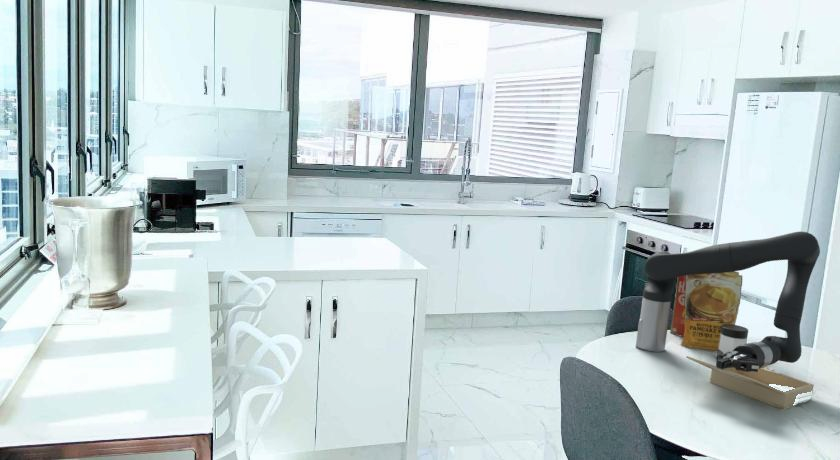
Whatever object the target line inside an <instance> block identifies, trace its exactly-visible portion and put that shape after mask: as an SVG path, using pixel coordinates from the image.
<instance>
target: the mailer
mask: <svg viewBox="0 0 840 460" xmlns="http://www.w3.org/2000/svg"><path fill="white" fill-rule="evenodd" d="M725 369H726V370H729V371H732V372H735V373H738V374H740V375H743V376H746V377H749V378H752V379H755V380H758V381H760V382H762V383H765V384H767V385H769V384H776V385H781V386H788V387H793V388H795V389H792V390H789V391H786V392H784V394H781V393H778V392H775V391H772V390H770V389H767V388H764V387H761V386H758V385H755V384H752V383H749V382H747V381H744V380H741V379H738V378H735V377H732V376H729V375H727V374H724V373H721V372H718V371H715V370H712V369H711V371H710V379H709V383H711V384H713V385H716V386H719V387H721V388H724V389H727V390H729V391H732V392H736V393H738V394H740V395H743V396H746V397H749V398H751V399H754V400H756V401H760V402H763V403H765V404H767V405H768V404H769V405H771V406H772V407H773V406H774V407H776V408H778V409H781V410H786V409H790V408H792V407H794V406H793V404H794V402H795V399H796V396H797V395H798V394H802V393H807V392H811V391H812V393H813V391H814V386H815V385H814V384H812V383H810V382H807V381H803V380H802V379H797V378H794V377H793V376H792V377H791V376H789V375H785V374H782V373H780V372H776V371H773V370H770V369H767V368H765V367H764V368H761V369H758V372H754V371H750V372H745V371H742V370H736V369H735V368H731V369H730V368H725ZM782 392H783V391H782Z"/></svg>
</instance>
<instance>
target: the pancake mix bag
mask: <svg viewBox="0 0 840 460" xmlns="http://www.w3.org/2000/svg"><path fill="white" fill-rule="evenodd" d="M742 286H743V275H742V274H740V272H739V271H734V272H726V273H713V274H692V275H686V292H685V307H686V312H685V322H684V323H685V331H684V337H683V336H682V340H681V343H680V346H684V347H687V348H688V349H689V348H691V349H695V350H702V351H709V352H715V353H716V350H718V345H719V338H720V332H721V326H722V325H723V324H732V325H736V322H737V318H738V315H739V314H738V313H739V309H740V308H739V307H740V304H741V295H742Z"/></svg>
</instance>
